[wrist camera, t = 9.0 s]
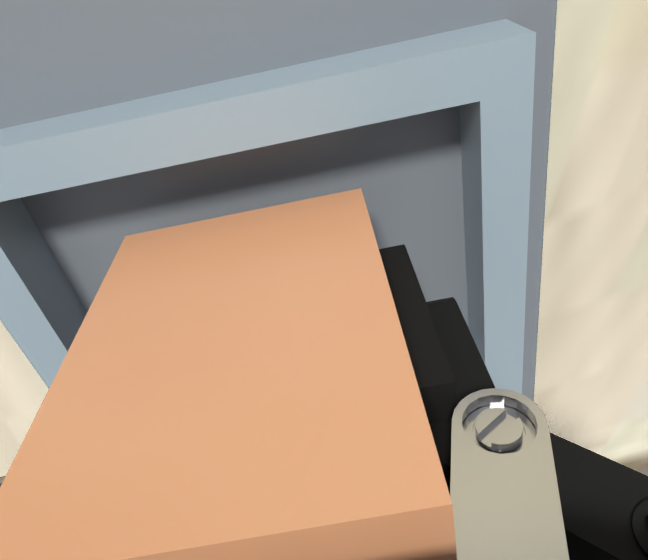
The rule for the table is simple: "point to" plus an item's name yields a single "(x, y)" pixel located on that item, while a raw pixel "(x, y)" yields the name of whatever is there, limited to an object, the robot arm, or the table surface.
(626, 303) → the table surface
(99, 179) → the holder dock
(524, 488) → the robot arm
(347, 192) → the orange rectangular block
